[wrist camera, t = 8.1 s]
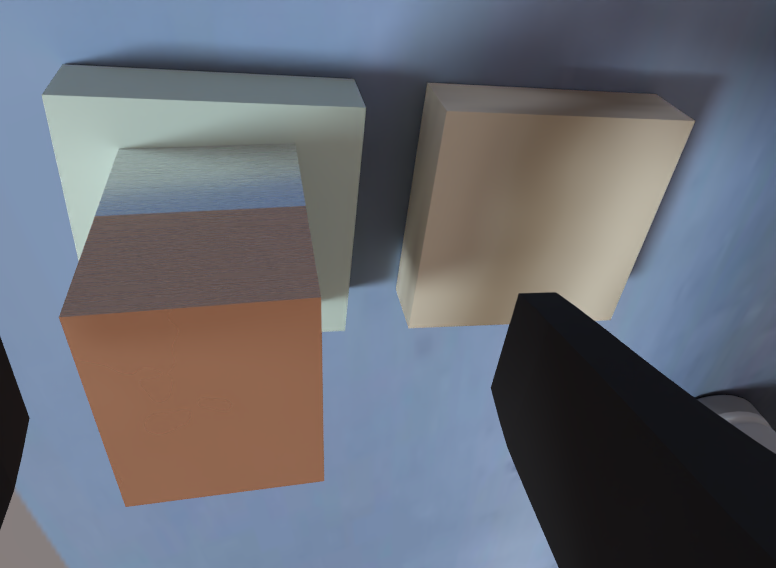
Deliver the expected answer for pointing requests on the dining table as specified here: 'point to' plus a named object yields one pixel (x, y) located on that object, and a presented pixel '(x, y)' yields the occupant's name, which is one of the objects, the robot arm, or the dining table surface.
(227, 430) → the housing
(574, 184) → the stand
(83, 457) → the dining table surface
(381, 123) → the dining table surface
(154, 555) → the dining table surface
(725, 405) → the travel mug
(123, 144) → the stand
